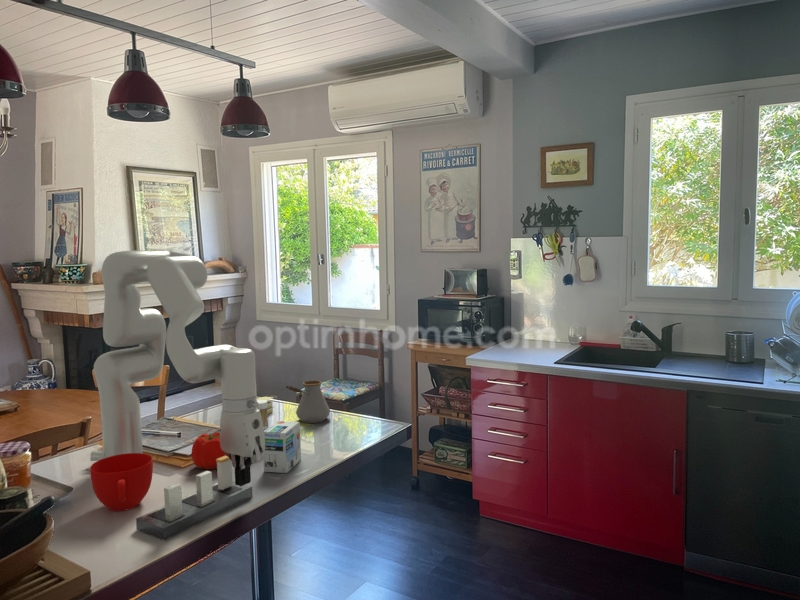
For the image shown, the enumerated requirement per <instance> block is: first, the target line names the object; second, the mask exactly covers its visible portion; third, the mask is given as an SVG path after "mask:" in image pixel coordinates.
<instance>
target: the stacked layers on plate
mask: <svg viewBox="0 0 800 600" xmlns="http://www.w3.org/2000/svg"><path fill="white" fill-rule="evenodd" d="M272 399H274V397H273V396H272V397H271V396H261V397H257V400H266V401H267V403H268V407H267V416H268V415H269V414H272V413H273V412H274V408H275V406H274V404H273V403H274V402H275V401H274V400H272Z"/></svg>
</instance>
